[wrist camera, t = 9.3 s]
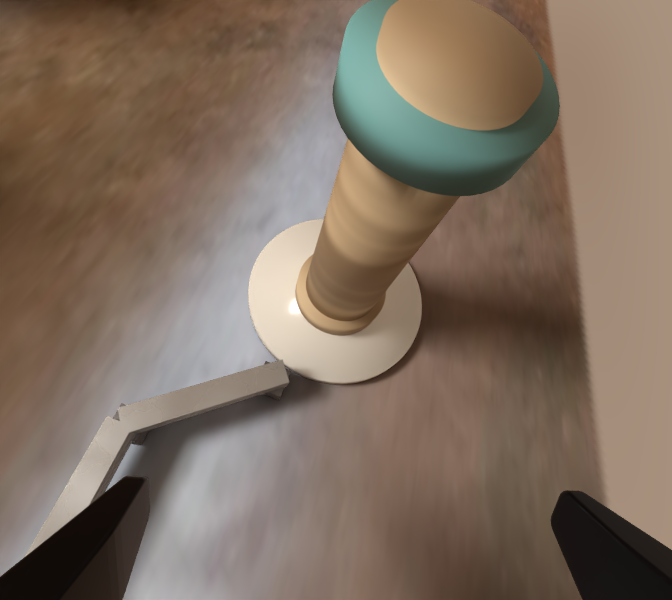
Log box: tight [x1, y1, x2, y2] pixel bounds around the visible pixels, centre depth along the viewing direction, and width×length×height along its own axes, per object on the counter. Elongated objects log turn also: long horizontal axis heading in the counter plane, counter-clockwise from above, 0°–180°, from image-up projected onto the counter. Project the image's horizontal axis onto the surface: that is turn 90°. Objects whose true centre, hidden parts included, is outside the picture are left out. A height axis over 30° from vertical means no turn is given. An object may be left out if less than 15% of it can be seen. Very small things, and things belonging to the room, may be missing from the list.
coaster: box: [248, 219, 422, 384], centre depth 20 cm, size 9×9×1 cm
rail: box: [25, 359, 291, 557], centre depth 15 cm, size 11×6×2 cm, turn 161°
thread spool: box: [295, 0, 560, 336], centre depth 14 cm, size 5×5×13 cm
